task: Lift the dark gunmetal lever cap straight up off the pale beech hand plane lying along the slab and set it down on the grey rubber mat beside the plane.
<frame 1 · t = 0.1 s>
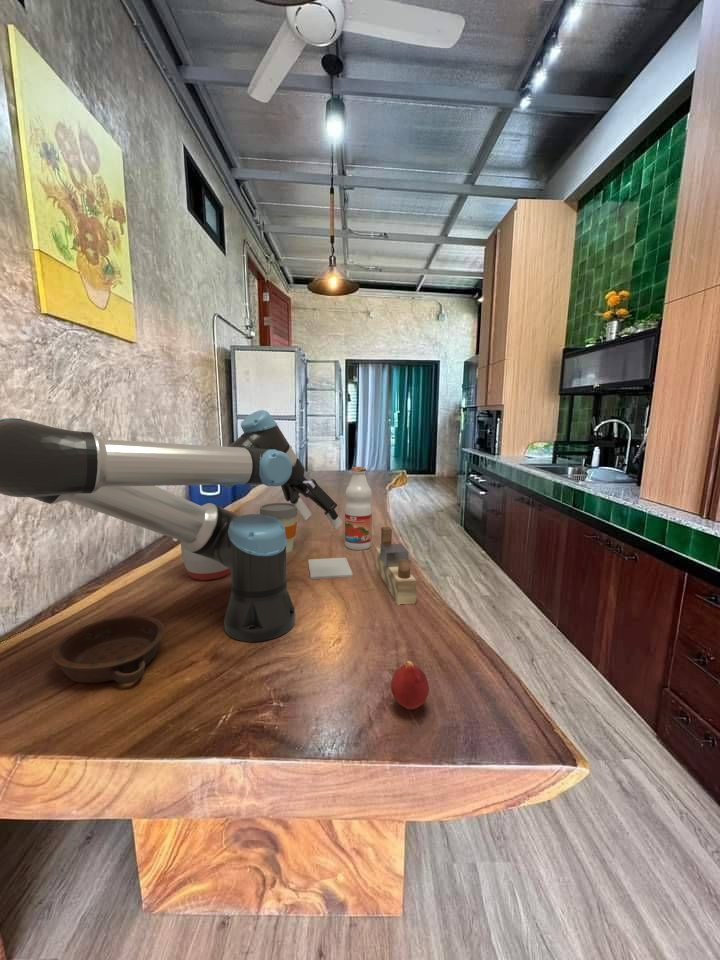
hand: (322, 521, 116), 15 cm above the table, tool tilted 35°, fingers open, 13 cm apart
dish: (113, 663, 75), on the table
lever cap: (393, 562, 110), point 6 cm above the table, touching plane body
mat: (329, 568, 121), on the table
reusable coffee cup: (279, 550, 137), on the table
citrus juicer: (208, 574, 116), on the table
plane body: (393, 582, 111), on the table
onion: (409, 709, 63), on the table
fruit juice: (358, 546, 142), on the table
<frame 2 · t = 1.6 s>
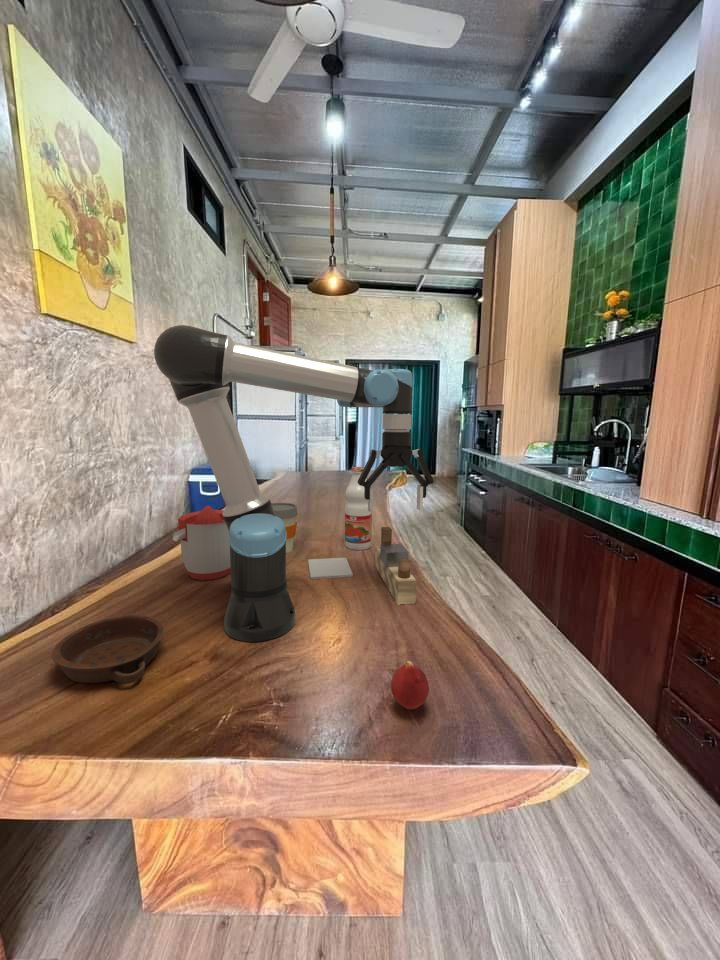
hand: (395, 510, 108), 20 cm above the table, tool pointing down, fingers open, 13 cm apart
nothing on the table moved.
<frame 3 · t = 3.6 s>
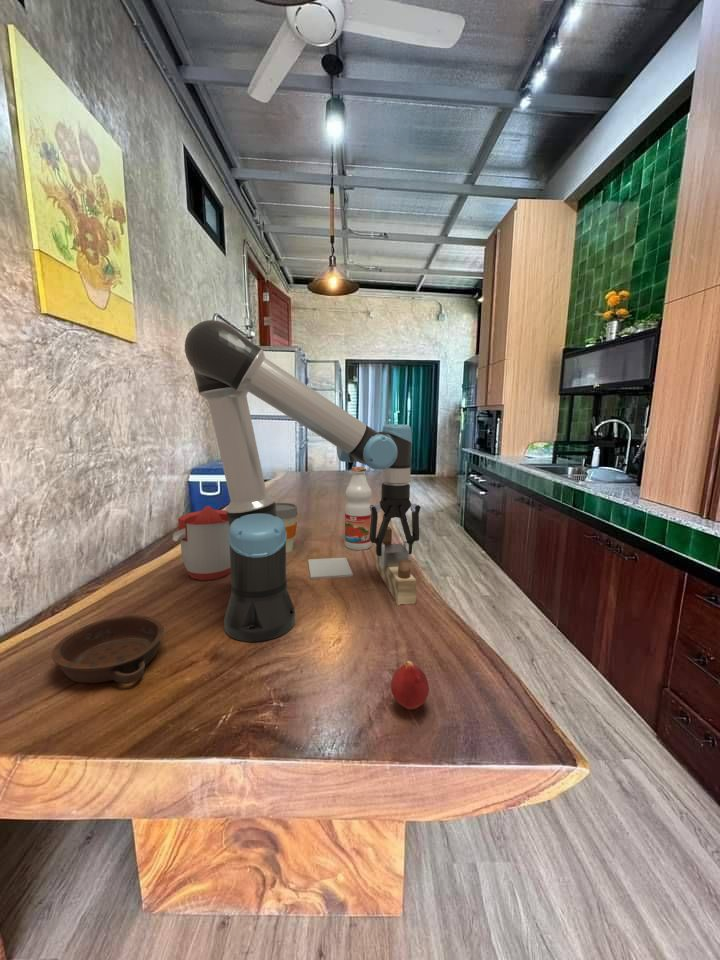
hand: (393, 565, 110), 5 cm above the table, tool pointing down, fingers closed on lever cap, 6 cm apart
lever cap: (393, 562, 110), point 6 cm above the table, touching gripper, plane body
everything else where it was.
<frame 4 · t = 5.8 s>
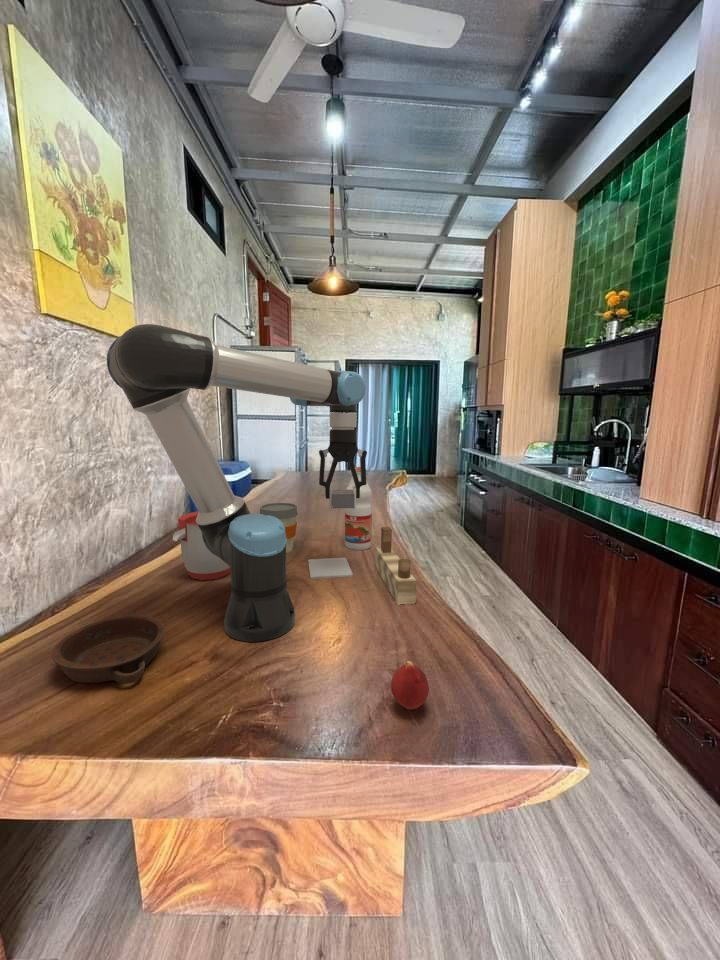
hand: (342, 509, 116), 19 cm above the table, tool pointing down, fingers closed on lever cap, 6 cm apart
lever cap: (342, 505, 115), point 20 cm above the table, touching gripper
everything else where it was.
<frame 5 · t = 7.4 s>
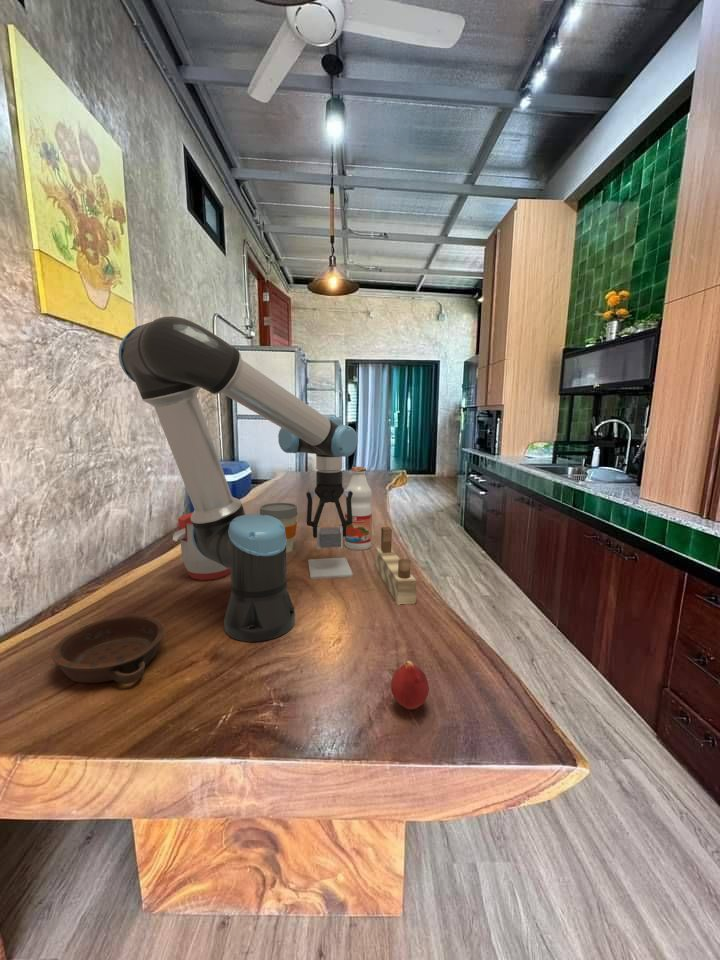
hand: (329, 547, 120), 7 cm above the table, tool pointing down, fingers closed on lever cap, 6 cm apart
lever cap: (329, 543, 119), point 8 cm above the table, touching gripper
everything else where it was.
when the fingers open (2 cm above the table, at t = 8.4 s): lever cap drops 3 cm, resting on mat.
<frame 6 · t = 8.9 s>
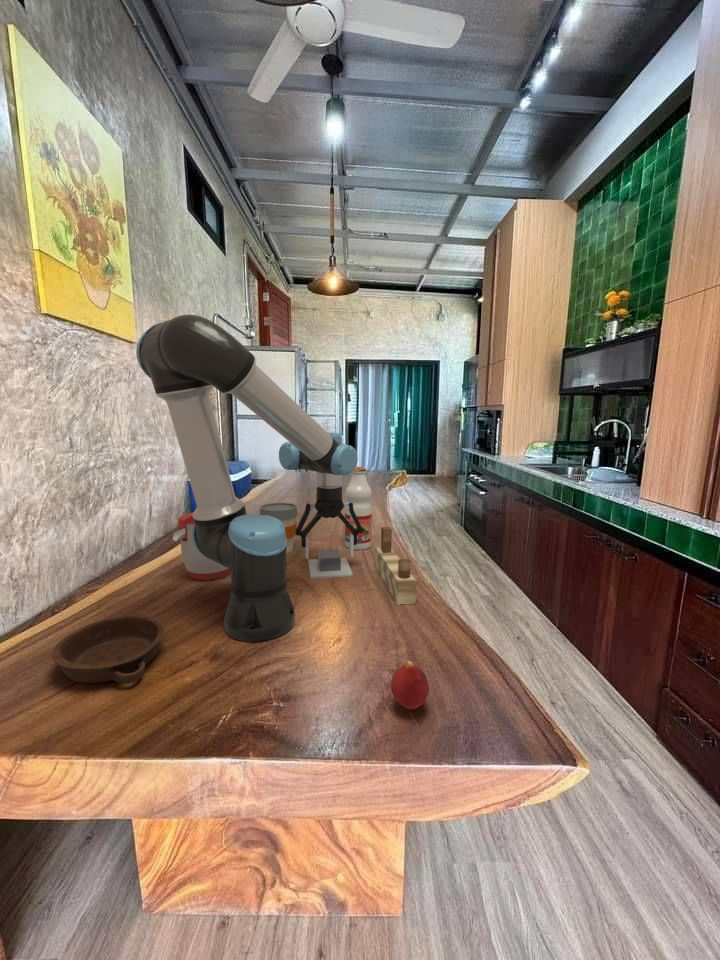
hand: (329, 556, 120), 4 cm above the table, tool pointing down, fingers open, 13 cm apart
lever cap: (329, 566, 121), point 1 cm above the table, touching mat
everything else where it was.
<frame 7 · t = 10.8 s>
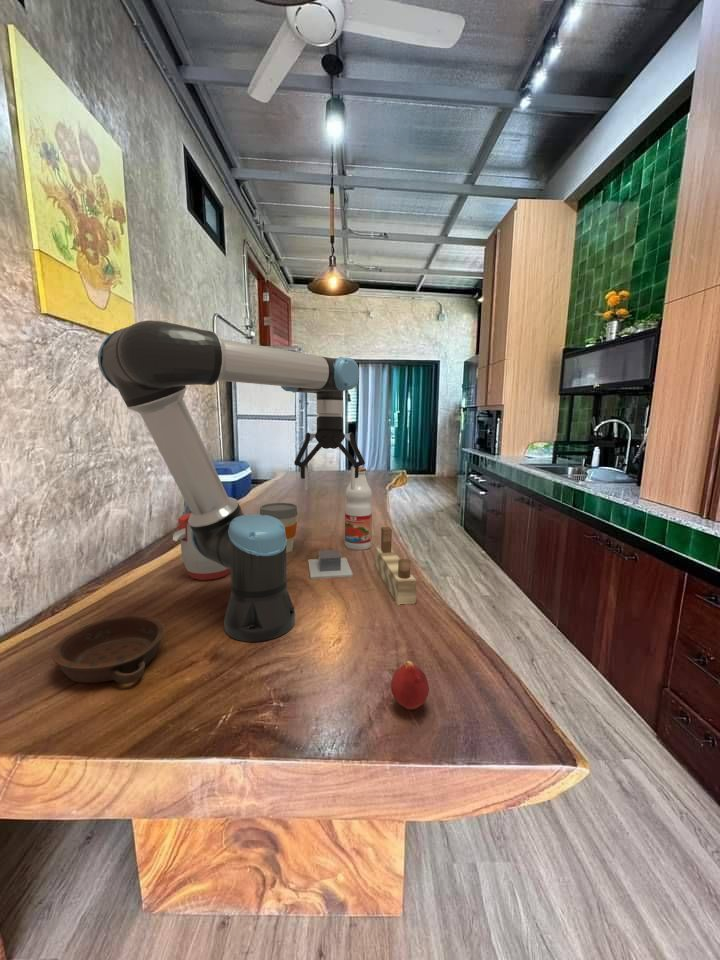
hand: (329, 489, 117), 24 cm above the table, tool pointing down, fingers open, 13 cm apart
nothing on the table moved.
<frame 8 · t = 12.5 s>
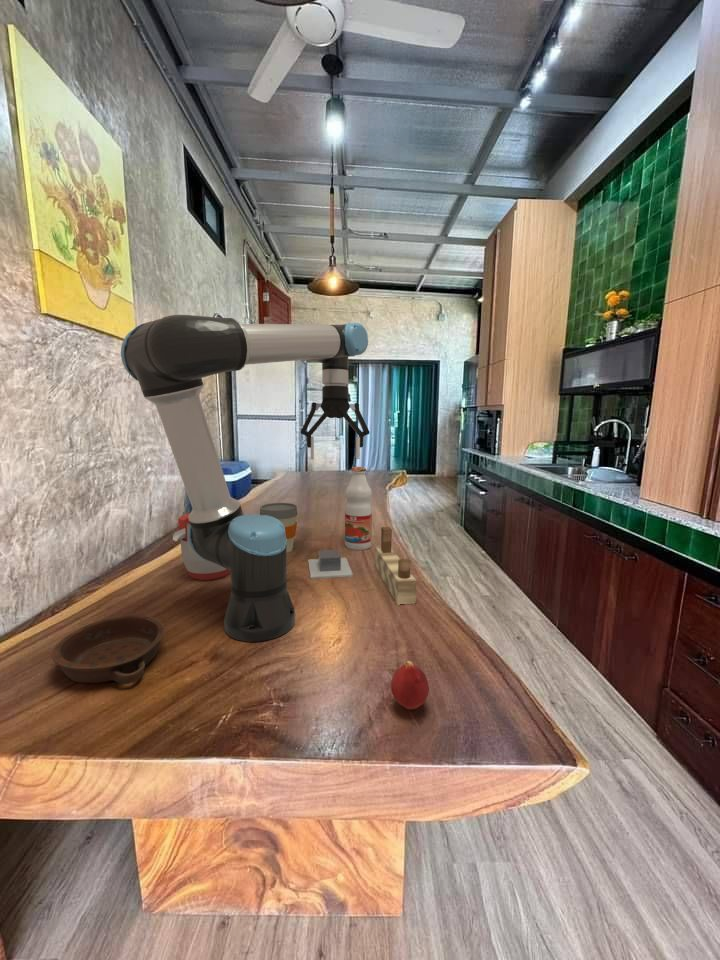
hand: (335, 458, 120), 33 cm above the table, tool pointing down, fingers open, 13 cm apart
nothing on the table moved.
at the end: lever cap inside the target area on the mat (0.1 cm from its centre), point 0.6 cm above the mat's base; lever cap touching mat; the gripper is holding nothing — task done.
